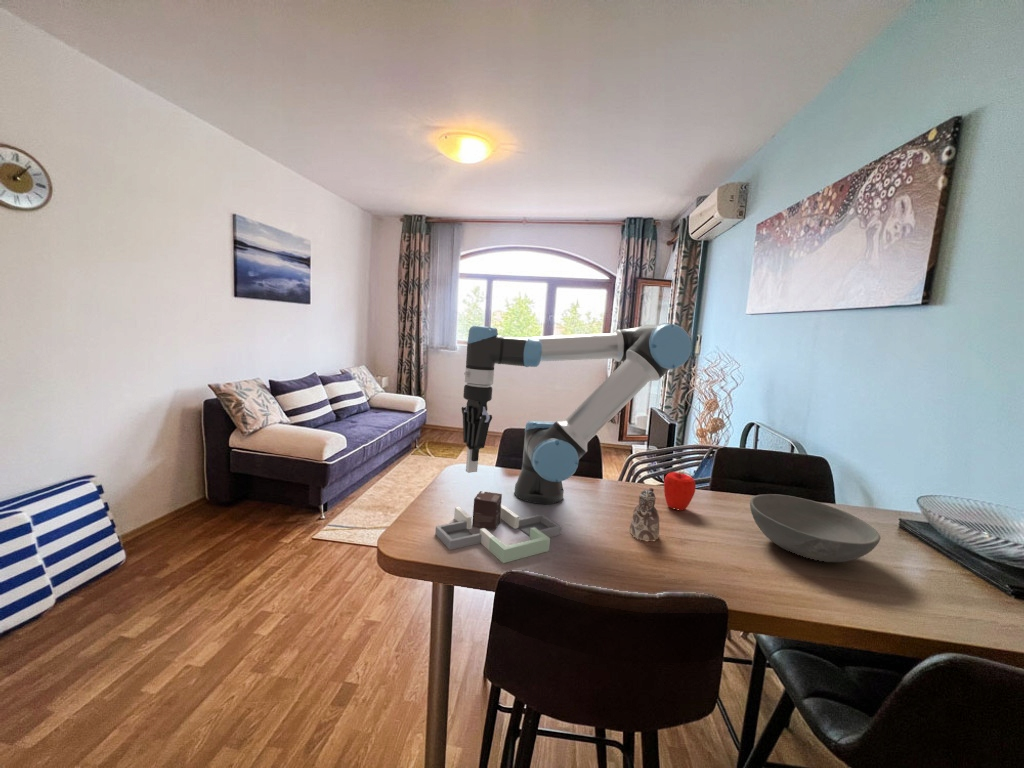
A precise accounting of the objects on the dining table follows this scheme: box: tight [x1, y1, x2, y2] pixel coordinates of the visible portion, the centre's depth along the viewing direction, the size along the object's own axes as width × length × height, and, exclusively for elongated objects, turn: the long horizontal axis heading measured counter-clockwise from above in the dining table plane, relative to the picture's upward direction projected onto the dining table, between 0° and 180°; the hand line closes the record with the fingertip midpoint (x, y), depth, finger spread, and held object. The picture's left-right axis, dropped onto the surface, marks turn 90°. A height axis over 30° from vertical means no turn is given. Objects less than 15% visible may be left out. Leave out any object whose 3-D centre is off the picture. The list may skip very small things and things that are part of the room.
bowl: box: [749, 493, 881, 563], centre depth 105 cm, size 26×26×10 cm
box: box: [471, 490, 503, 531], centre depth 106 cm, size 6×6×7 cm
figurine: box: [629, 487, 660, 541], centre depth 107 cm, size 7×7×12 cm
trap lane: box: [434, 503, 562, 564], centre depth 102 cm, size 28×24×3 cm
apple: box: [663, 471, 696, 511], centre depth 127 cm, size 9×9×11 cm
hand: (471, 471), depth 113 cm, fingers closed
